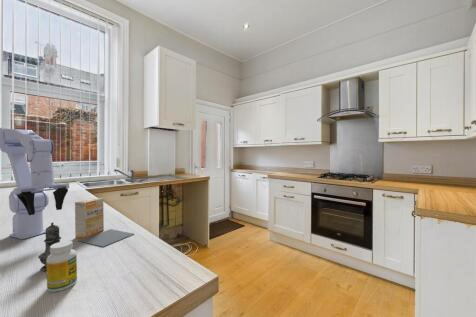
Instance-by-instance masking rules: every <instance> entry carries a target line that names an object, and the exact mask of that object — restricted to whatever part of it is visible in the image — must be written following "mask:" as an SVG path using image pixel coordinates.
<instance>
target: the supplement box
mask: <svg viewBox="0 0 476 317" xmlns="http://www.w3.org/2000/svg"><path fill="white" fill-rule="evenodd" d="M74 216H75V217H74V220H75V221H74V226H75V231H74V233H75V238H76V239H84V238H87V237H89V236H92V235H95V234H98V233H101V232H104V230H105V229H104V228H105V226H104V225H105V223H104V198H103V197H94V198H89V199H84V200H80V201H75V202H74Z"/></svg>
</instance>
